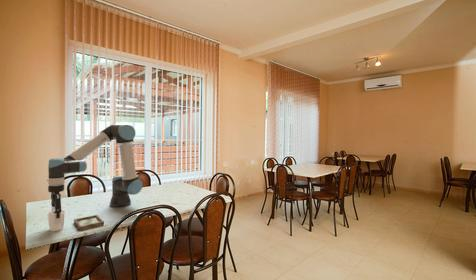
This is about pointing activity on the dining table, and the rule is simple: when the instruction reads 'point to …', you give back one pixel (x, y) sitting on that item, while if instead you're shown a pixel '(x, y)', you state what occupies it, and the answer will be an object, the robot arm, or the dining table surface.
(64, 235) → the dining table surface
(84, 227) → the walnut tray
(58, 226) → the pale pink cup
